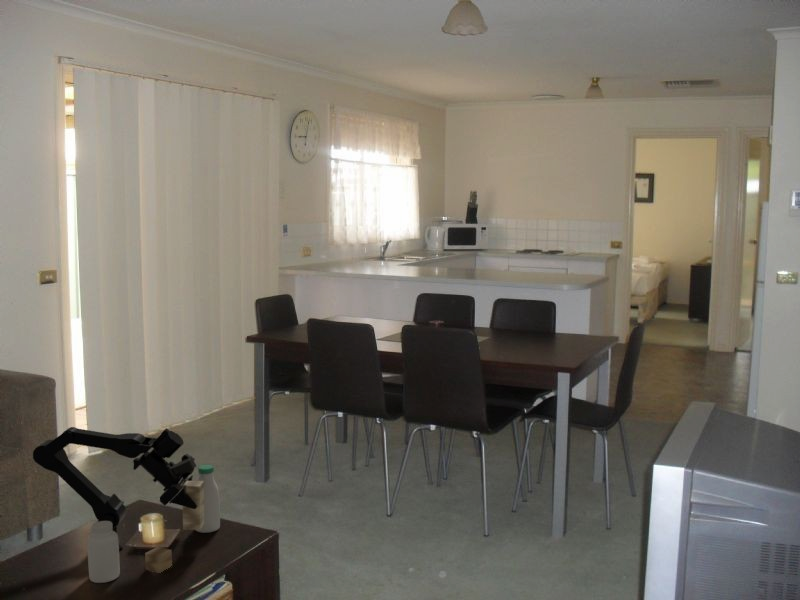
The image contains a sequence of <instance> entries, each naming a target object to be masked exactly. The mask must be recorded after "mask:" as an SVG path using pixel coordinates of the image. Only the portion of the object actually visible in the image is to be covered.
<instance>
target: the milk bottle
mask: <svg viewBox="0 0 800 600" xmlns="http://www.w3.org/2000/svg"><path fill="white" fill-rule="evenodd" d="M197 471H198V476H199V477H198V480H197V481H204V525H203V526H202V528H201V530H195V531H196V532H197V533H202V534H206V533H209V534H210V533H213V532H216V531H218V530H219V529H220V528H221V510H220V509H221V508H220V507H221V506H220V505H221V504H220V490H219V486H218V485H217V482H216V481H215V478H214V473H215V472H214V466H213V465H211V464H204V465H203V464H202V465H200V466H199V467H198V470H197Z"/></svg>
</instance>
